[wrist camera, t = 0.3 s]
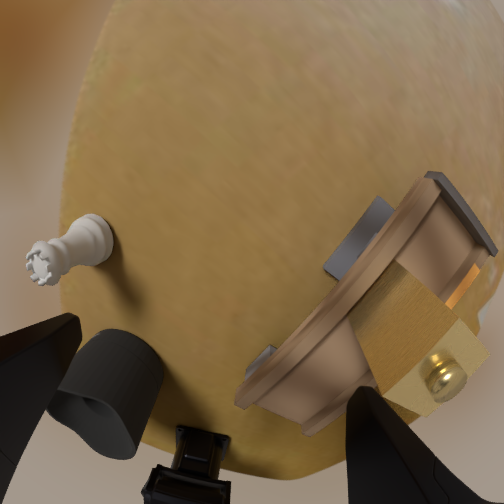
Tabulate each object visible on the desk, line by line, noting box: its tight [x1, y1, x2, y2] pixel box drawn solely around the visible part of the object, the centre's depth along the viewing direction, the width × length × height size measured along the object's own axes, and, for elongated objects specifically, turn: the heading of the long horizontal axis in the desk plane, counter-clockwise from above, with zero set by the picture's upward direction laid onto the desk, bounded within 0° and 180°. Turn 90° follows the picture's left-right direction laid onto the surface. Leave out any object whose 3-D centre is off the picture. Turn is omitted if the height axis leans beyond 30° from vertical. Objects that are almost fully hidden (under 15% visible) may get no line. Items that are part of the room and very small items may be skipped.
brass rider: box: [346, 259, 490, 417], centre depth 14 cm, size 5×5×9 cm
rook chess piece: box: [26, 214, 113, 286], centre depth 18 cm, size 4×4×8 cm
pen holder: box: [46, 329, 163, 460], centre depth 21 cm, size 9×9×10 cm
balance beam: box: [234, 171, 498, 437], centre depth 20 cm, size 22×9×6 cm, turn 145°
